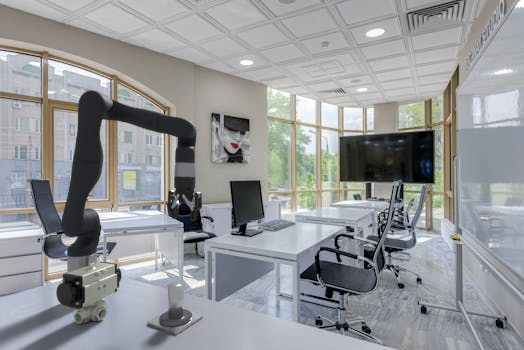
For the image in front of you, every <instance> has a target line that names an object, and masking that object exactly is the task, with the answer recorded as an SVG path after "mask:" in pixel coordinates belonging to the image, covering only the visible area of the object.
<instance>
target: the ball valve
mask: <svg viewBox="0 0 524 350" xmlns="http://www.w3.org/2000/svg"><path fill="white" fill-rule="evenodd" d="M121 280H122V271H121V269H120V267H119V266H118V263H114V262H107V261H99V262H98V261H97V263H95V264H94V263H89V266H86V267H83V268H80V269H77V270H74V271H71V272H68V273H67V272H65V273H63V274H62V279H61V283H59V284H58V285H57V287H56V290H55V291H56V298H57V300H58V302H59V303H60V304H61V305H62V306H65V307H68V308H72V309H78V310H77V311H75V312H74V315H73V319H74V322H75V323H76V324H79V325H80V324H86V323H88V322H89V321H93V322H98V321H101V320H103V319H105V317H106V316H107V313H108V310H107V309H108V307H109V305H108V302H107V301H106V299H105V298H107V297H109V296H111V295H114V293H117V292H118V288H120V282H121Z"/></svg>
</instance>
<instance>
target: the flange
mask: <svg viewBox="0 0 524 350" xmlns="http://www.w3.org/2000/svg"><path fill="white" fill-rule="evenodd" d="M201 319H204V314H203V313H199V312H195V311H192V310H188V309H185V308H184V316H183V317H182V318H181V319H178V320H171V319H169V318H168V310H167V311H164V312H163V313H161V314H159V315H158V316H155V317H154V318H152V319H151V320H148V321H147V323H146V324H147V326H151V327H153V328H156V329H159V330H161V331H163V332H166V333H169V334H172V335H175V336H177V335H178V334H180V333H181V332H183V331H184V330H186V329H188V328H189V327H190V326H192V325H194V324H195V323H197V322H198V321H199V320H201Z"/></svg>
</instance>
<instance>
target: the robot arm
mask: <svg viewBox="0 0 524 350" xmlns="http://www.w3.org/2000/svg"><path fill="white" fill-rule="evenodd" d="M79 97H80V98H79V100H78V104H77V129H76V130H77V131H76V138H75V144H74V145H75V146H74V153H73V159H72V164H71V165H72V166H71V173H70V179H69V186H68V190H67V197H66V201H65V204H64V208H63V212H62V215H61V220H60V221H61V222H60V225H61V226H60V227H61V231H62V232H63V234H64V235H65V236H66V237H68V238H76V240H75V241H74V242H73V243H71V244H70V245H68V247H67V249H66V254H67V255H66V258H67V260H66V264H67V266H66V267H67V272H66V273H68V272H71V271H74V270H77V269H80V268H83V267H86V266H89V263H94V264H95V263H98V246H99V244H100V233H101V219H100V218H101V217H100V215H99V213H98V212H97V211H96V210H95V209H94V208H86V203H87V199H88V197H89V195H90V194H91V192H92V191H93V190H94V188H95V186H96V185H97V183H98V182H99V180H100V179H101V176H102V173H103V164H104V151H103V146H102V141H101V127H102V121H103V120H105V121H106V120H107V121H114V122H122V123H126V124H130V125H132V126H135V127H138V128H140V129H143V130H144V129H145V130H147V131H152V132H155V133H157V134H162V135H163V134H164V135H170V136H172V137H175V138H177V147H176V149H175V152H174V153H175V155H174V168H173V171H174V172H173V175H174V176H173V188H174V189H173V190H168V191H167V192H168V195H167V207H170V208H171V217H172V219H173V220H177V219H178V218H179V206H180V205H181V204H186V205H187V207H188V208H189V209H190V219H189V221H190V222H196V221H197V218H198V217H197V216H198V210H202V209H203V200H202V197H203V196H202V192H201V191H198V192H196V191H195V189H196V174H197V173H196V170H197V169H196V143H197V135H198V134H197V126H196V125H195V124H194V123H193V122H192V121H191V120H189V119H186V118H182V117H180V116H179V117H178V116H173V115H172V116H171V115H167V114H165V113H161V112H158V111H154V110H150V109H147V108H140V107H134V106H130V105H127V104H124V103H121V102H119V101H118V100H116V99H113V98H111V97H109V96H108V95H106V94H104V93H101V92H99V91H96V90H86V91H84V92H83V93H82V94H81V95H80V96H79Z"/></svg>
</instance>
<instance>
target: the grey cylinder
mask: <svg viewBox="0 0 524 350" xmlns="http://www.w3.org/2000/svg"><path fill="white" fill-rule="evenodd" d="M184 307H185V283H184V282H182V281H174V282H170V283H169V284H168V286H167V311H168V318H169V319H171V320H178V319H181V318H182V317H183V316H184V309H185V308H184Z"/></svg>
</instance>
